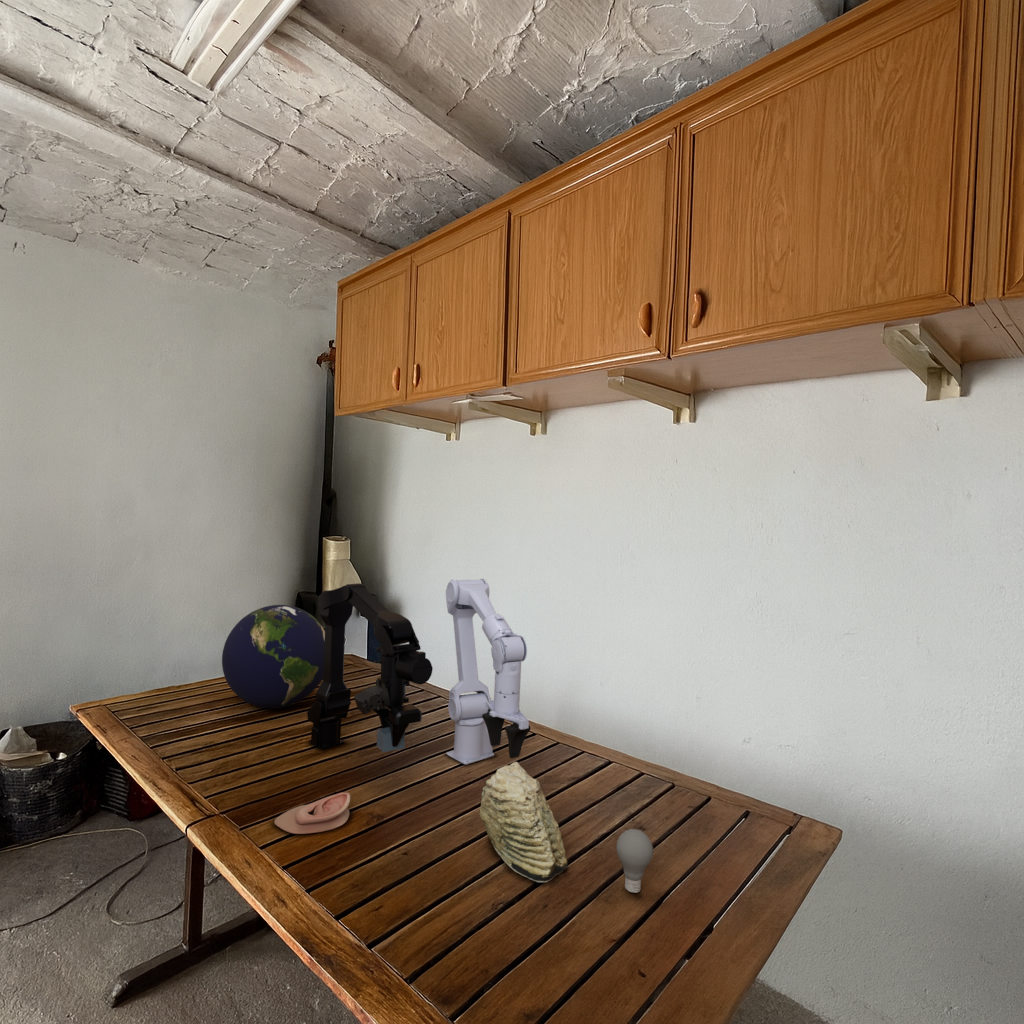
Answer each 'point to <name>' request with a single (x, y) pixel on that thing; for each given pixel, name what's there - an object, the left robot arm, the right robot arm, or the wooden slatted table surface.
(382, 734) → the brick
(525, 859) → the fossil
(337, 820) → the anatomical model
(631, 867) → the light bulb
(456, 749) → the right robot arm
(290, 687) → the globe
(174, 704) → the wooden slatted table surface
